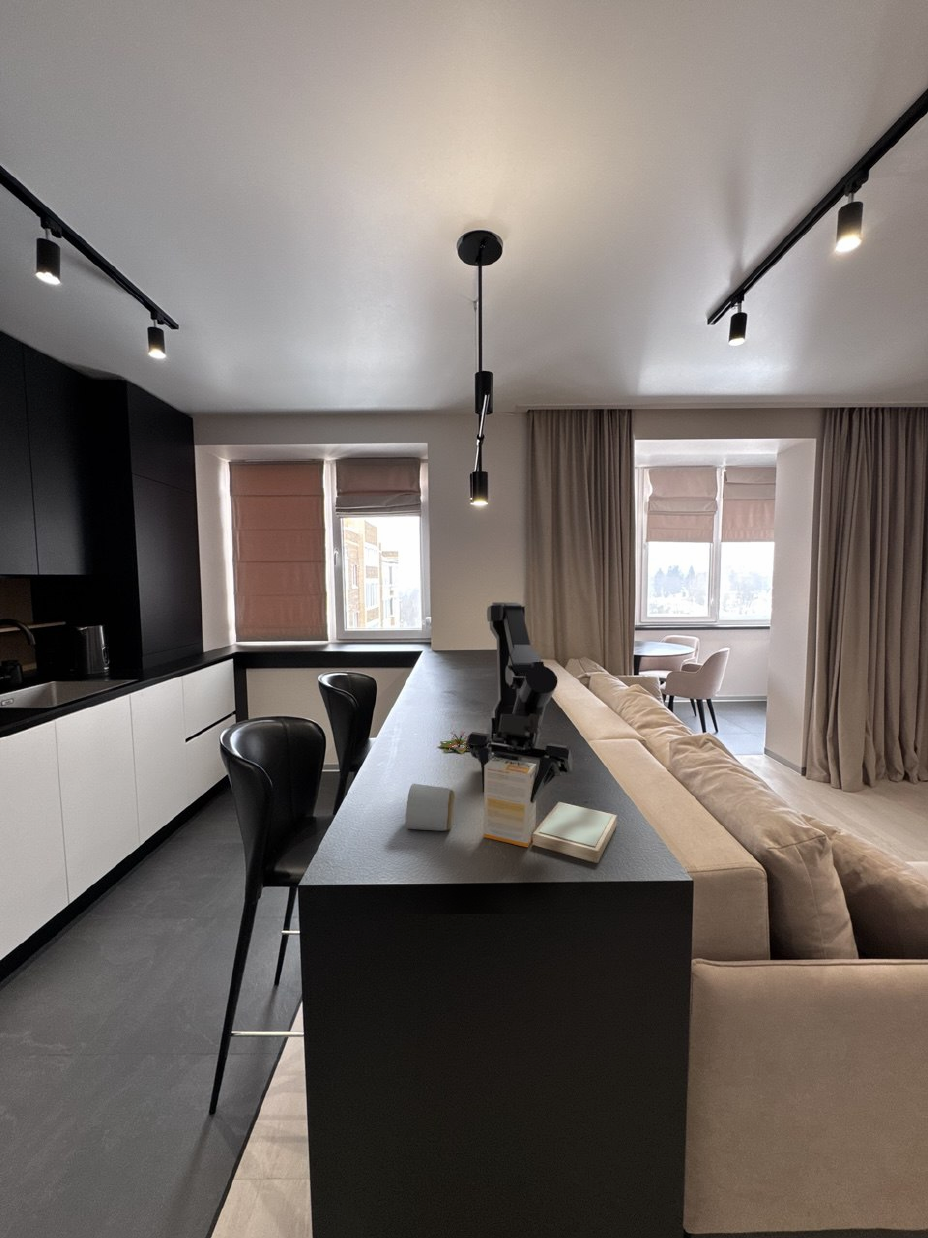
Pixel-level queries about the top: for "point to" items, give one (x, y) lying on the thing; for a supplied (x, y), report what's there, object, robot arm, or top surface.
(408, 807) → the ceramic mug
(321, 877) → the top surface
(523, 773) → the supplement box
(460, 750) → the lily flower
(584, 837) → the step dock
